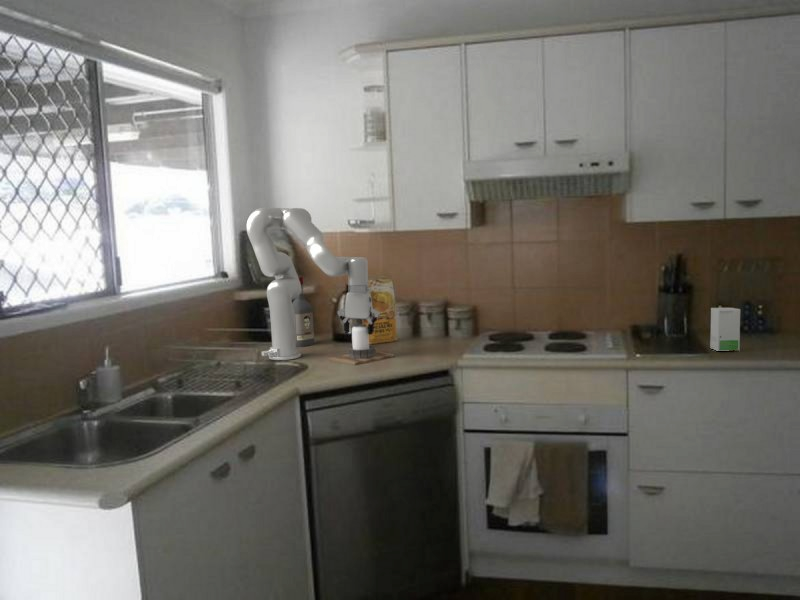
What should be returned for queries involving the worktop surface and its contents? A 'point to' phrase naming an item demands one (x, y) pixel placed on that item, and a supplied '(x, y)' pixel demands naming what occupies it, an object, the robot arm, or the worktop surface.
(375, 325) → the pancake mix bag
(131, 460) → the worktop surface
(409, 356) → the worktop surface
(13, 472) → the worktop surface
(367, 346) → the can
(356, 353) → the socket
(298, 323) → the liquor
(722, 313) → the skincare box
